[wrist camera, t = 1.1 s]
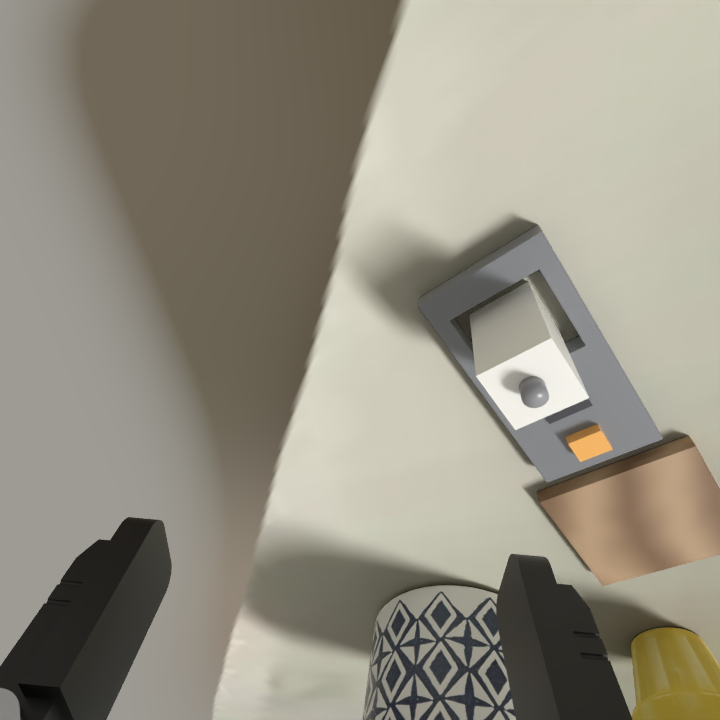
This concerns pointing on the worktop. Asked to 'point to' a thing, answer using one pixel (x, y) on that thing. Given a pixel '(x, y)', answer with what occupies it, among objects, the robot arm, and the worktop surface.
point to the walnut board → (640, 512)
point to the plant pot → (674, 676)
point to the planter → (438, 658)
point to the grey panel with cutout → (588, 351)
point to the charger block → (523, 358)
